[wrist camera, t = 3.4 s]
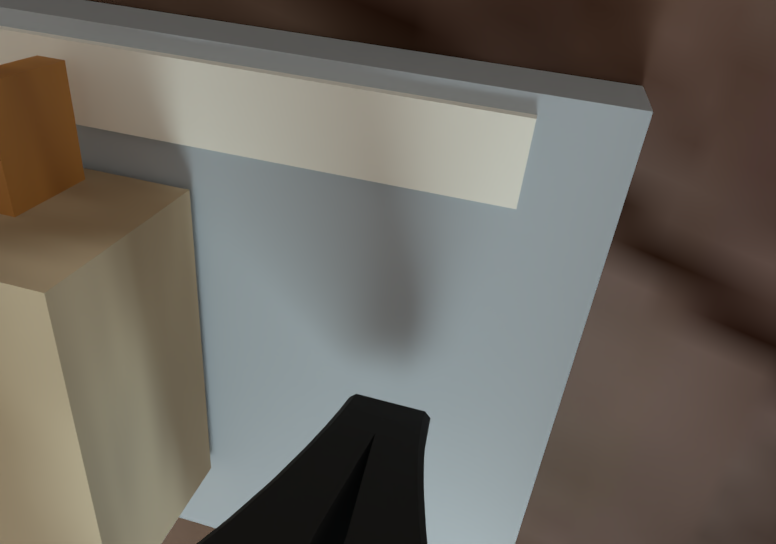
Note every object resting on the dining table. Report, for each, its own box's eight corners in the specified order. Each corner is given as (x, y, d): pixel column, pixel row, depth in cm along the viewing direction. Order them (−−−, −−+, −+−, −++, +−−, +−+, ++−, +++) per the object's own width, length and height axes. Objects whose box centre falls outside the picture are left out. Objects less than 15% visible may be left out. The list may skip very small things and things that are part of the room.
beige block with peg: (179, 72, 10) (9, 140, 7) (211, 468, 14) (117, 610, 11) (-37, 35, 10) (-278, 82, 7) (60, 424, 15) (-65, 547, 12)
